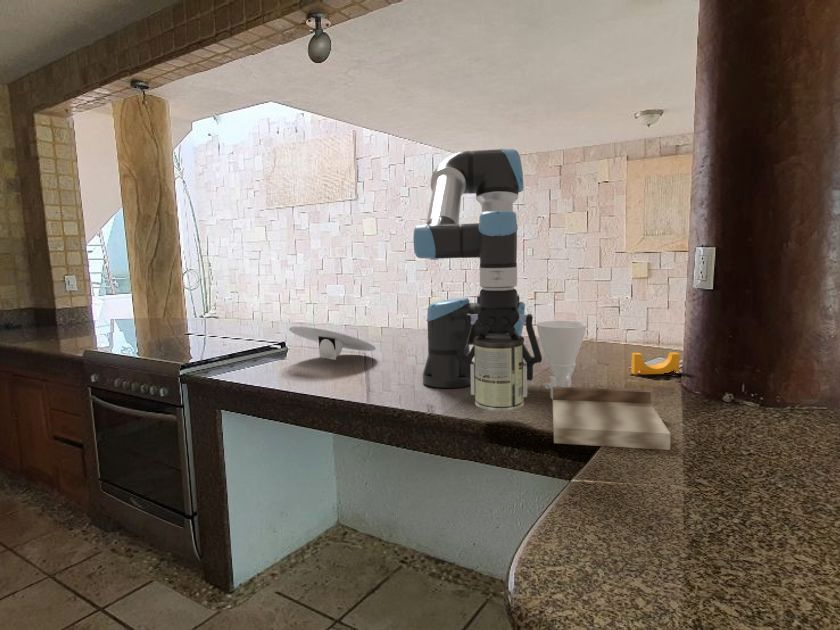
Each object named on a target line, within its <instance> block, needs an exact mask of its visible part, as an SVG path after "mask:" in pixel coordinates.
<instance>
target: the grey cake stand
mask: <svg viewBox="0 0 840 630" xmlns="http://www.w3.org/2000/svg"><path fill="white" fill-rule="evenodd" d="M288 331H290V332H291V333H292V334H294V335H296V336H299V337H301V338H303V339H306V340H308V341H312V342H315V343H318V351H319V352H318V353H319V358H323V359H329V360H333V361H335V360H337V357H338V356H339V355H340V354H341V353H342V351H343V349H345V350H350V351H351V350H353V351H360V352H372V351H373V352H374V351H376V349H377V348H376V347H375V345H373V344H371V343H369V341H368V342H367V341H365V340H362V339H360V338H358V337H354V336H350V335H347V334H343V333H341V332H336V331H331V330H327V329H321V328H315V327H309V326H308V327H307V326H291V327H289V328H288Z"/></svg>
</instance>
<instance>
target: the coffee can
mask: <svg viewBox="0 0 840 630" xmlns="http://www.w3.org/2000/svg"><path fill="white" fill-rule="evenodd" d="M478 337H479V336H476V337H475V338H474V345H473V346H475V356H474V357H473V358H474V362H475V395H474V398H475V399H474V404H475V406H476V407H478V408H479V409H483V410H485V411H491V412H492V411H493V412H508V411H509V412H510V411H515V410H519V409H521V408H522V407H524V405H525V401H524V398H525V397H523V364H524V358H523V357H522V345H523V343H525V337H524V336H522V335H521V336H519V337H520V339H519V340H512V338H511V337H510V335H509V334H487V335H486V337H485V339H484V340H478Z"/></svg>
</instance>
